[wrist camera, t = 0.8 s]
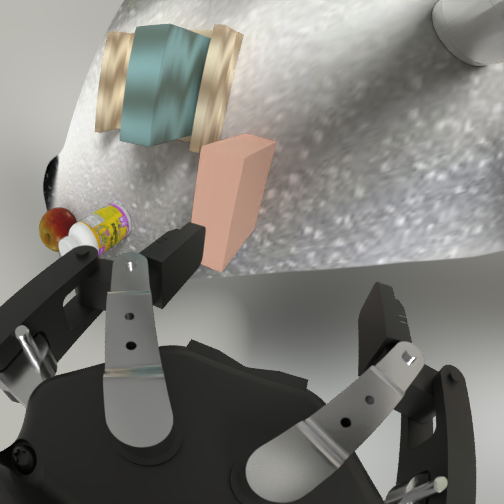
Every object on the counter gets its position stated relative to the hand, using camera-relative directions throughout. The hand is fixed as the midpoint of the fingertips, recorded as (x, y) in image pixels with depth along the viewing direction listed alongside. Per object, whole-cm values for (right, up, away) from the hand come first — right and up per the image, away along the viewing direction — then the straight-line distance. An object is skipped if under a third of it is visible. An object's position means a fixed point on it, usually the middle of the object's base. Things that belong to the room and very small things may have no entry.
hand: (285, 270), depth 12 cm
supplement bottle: (-25, +7, +33) cm, 42 cm away
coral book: (-2, +10, +22) cm, 24 cm away
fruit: (-41, +7, +38) cm, 57 cm away
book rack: (-12, +23, +18) cm, 32 cm away
